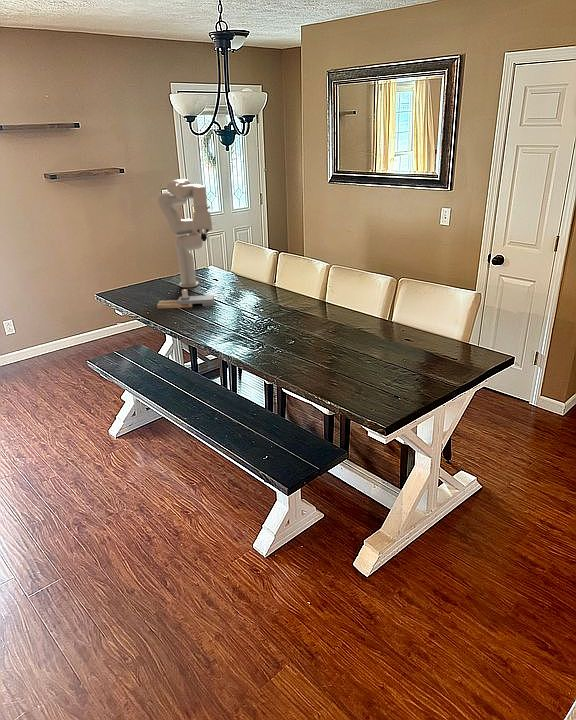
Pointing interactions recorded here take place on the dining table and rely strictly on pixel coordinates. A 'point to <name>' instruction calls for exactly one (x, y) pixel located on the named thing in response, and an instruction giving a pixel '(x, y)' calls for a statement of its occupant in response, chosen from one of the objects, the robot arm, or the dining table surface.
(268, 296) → the dining table surface
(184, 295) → the pin
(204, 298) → the link
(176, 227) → the robot arm
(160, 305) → the link
